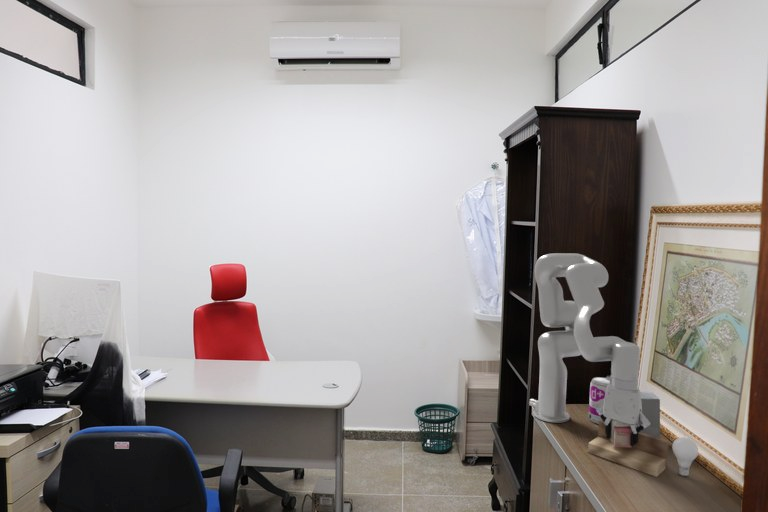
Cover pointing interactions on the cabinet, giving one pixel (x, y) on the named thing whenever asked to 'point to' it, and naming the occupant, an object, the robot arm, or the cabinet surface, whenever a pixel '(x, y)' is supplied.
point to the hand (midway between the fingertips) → (621, 440)
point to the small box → (620, 434)
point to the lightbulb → (684, 454)
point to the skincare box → (651, 413)
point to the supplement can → (597, 397)
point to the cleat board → (633, 452)
